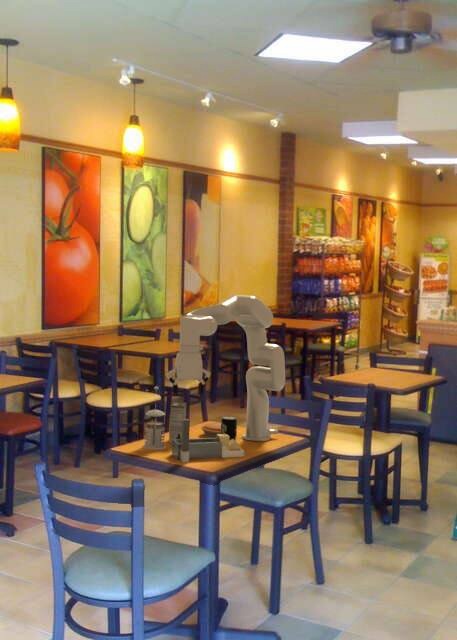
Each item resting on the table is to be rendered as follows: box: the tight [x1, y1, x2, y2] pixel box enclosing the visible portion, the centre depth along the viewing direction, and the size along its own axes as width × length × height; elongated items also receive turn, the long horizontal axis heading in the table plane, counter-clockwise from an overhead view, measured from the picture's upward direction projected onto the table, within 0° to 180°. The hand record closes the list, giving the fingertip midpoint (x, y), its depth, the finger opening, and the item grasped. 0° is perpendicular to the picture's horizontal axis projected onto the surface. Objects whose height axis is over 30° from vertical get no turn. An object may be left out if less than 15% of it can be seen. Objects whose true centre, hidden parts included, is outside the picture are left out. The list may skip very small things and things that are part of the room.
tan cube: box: [216, 434, 230, 446], centre depth 305 cm, size 4×4×4 cm
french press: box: [142, 385, 167, 451], centre depth 313 cm, size 10×12×25 cm
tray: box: [221, 446, 245, 459], centre depth 307 cm, size 9×11×2 cm
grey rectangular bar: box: [179, 418, 191, 463], centre depth 294 cm, size 2×4×16 cm, turn 19°
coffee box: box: [168, 401, 188, 445], centre depth 325 cm, size 9×6×16 cm
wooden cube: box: [226, 439, 242, 451], centre depth 307 cm, size 4×4×4 cm
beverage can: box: [220, 415, 238, 441], centre depth 321 cm, size 7×7×12 cm
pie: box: [200, 422, 221, 438], centre depth 340 cm, size 15×16×5 cm
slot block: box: [171, 437, 222, 460], centre depth 302 cm, size 18×8×6 cm, turn 109°
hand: (188, 394), depth 291 cm, fingers open, 9 cm apart
